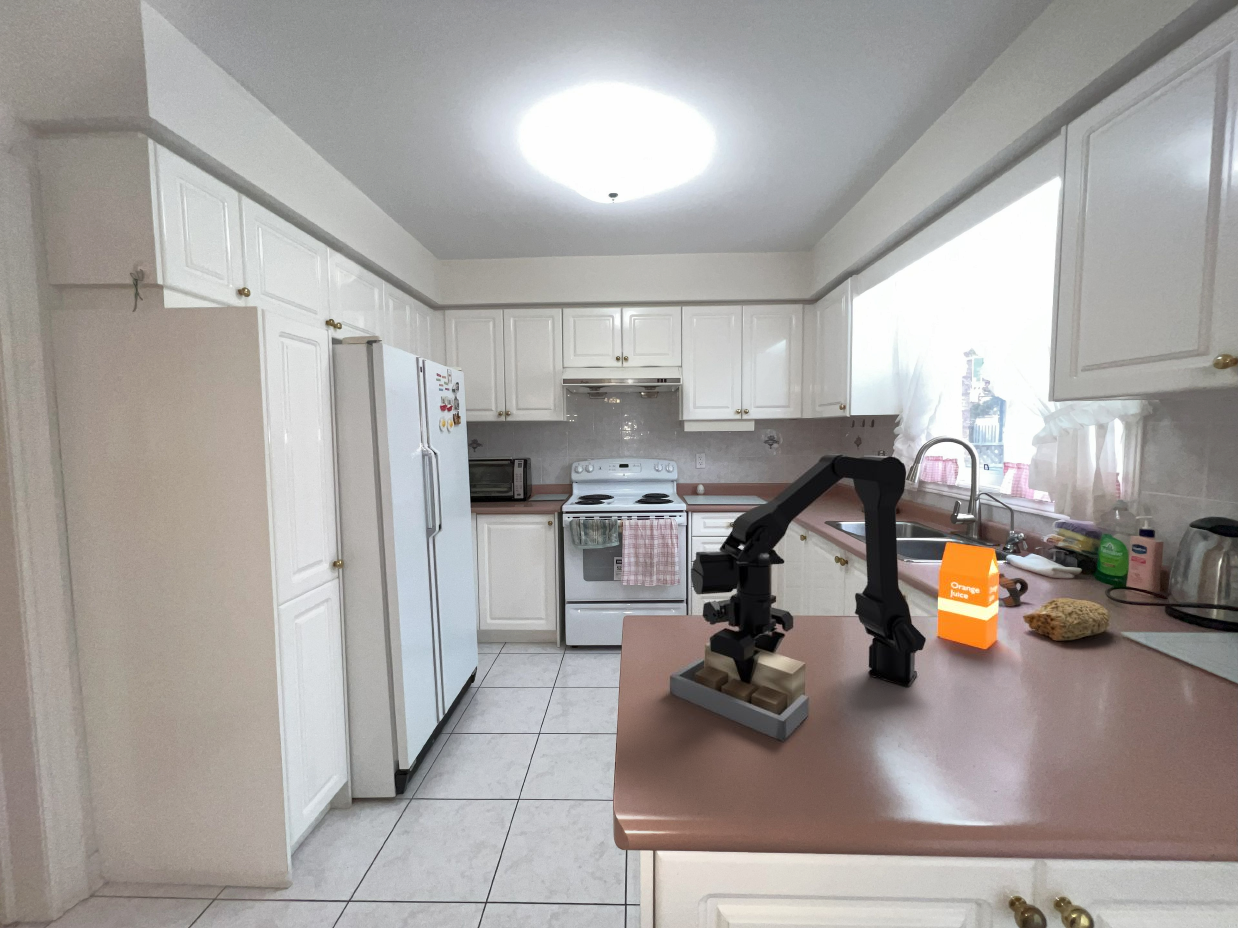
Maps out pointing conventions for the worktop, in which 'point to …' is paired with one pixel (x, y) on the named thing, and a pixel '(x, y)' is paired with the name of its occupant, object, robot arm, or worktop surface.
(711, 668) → the walnut chip
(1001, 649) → the worktop surface
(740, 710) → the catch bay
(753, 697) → the walnut chip
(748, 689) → the block
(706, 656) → the block
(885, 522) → the robot arm
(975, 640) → the orange juice
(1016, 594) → the pottery mug
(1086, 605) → the tan porous lump
